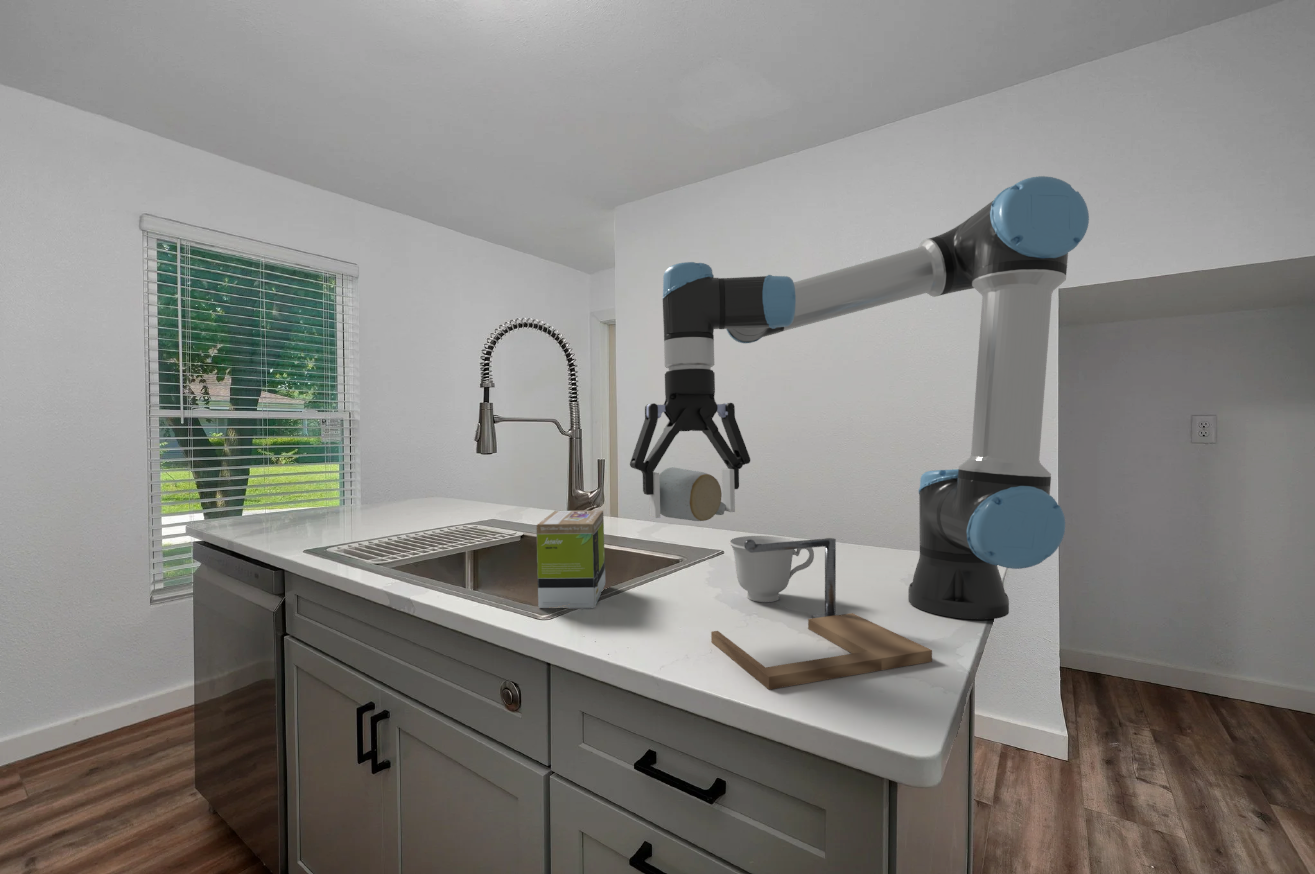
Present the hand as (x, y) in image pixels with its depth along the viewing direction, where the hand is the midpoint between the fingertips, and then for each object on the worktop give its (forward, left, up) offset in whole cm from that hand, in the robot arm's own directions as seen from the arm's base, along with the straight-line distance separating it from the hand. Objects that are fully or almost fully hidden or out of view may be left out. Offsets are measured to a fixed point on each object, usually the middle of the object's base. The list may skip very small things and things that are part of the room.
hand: (692, 513), depth 89 cm
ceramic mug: (0, 0, -1) cm, 1 cm away
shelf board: (-12, +14, -17) cm, 26 cm away
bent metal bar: (-15, +5, -17) cm, 23 cm away
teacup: (-19, -10, -18) cm, 28 cm away
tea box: (+14, -23, -18) cm, 32 cm away
